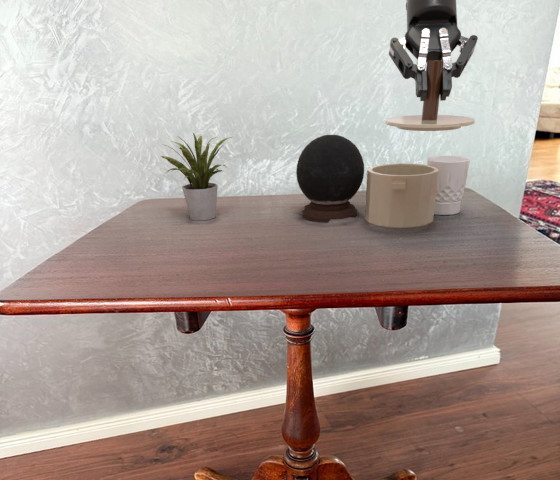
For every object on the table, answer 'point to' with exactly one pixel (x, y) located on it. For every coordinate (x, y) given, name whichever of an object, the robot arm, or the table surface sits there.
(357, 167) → the black ball on stand
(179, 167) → the house plant
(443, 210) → the white cup
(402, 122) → the lid
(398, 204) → the pot
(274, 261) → the table surface
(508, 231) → the table surface
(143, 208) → the table surface
